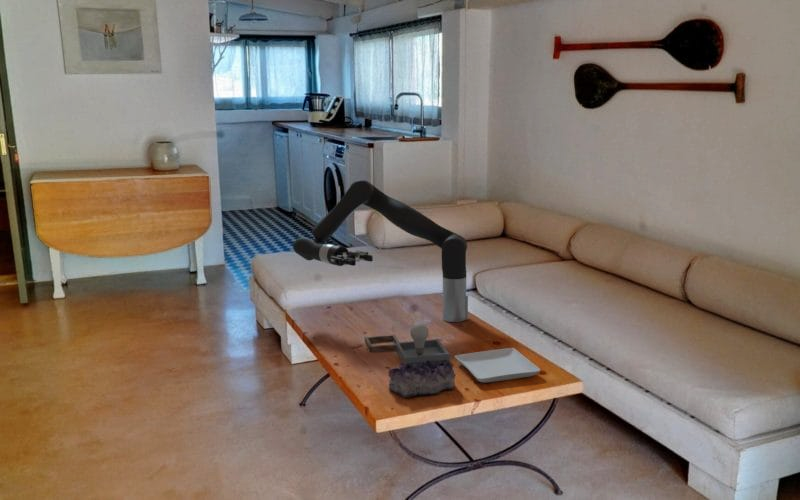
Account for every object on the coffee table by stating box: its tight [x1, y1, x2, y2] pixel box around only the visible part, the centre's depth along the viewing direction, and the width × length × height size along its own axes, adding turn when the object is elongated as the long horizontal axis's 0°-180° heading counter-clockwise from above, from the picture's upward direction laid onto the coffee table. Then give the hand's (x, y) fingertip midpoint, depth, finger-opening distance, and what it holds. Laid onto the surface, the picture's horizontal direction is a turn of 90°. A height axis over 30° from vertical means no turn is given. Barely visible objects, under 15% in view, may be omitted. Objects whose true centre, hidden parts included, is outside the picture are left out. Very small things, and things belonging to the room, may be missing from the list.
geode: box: [388, 360, 457, 398], centre depth 209 cm, size 20×12×10 cm, turn 110°
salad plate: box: [454, 347, 541, 383], centre depth 223 cm, size 21×21×3 cm
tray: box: [395, 338, 451, 366], centre depth 237 cm, size 15×15×3 cm
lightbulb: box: [409, 322, 430, 355], centre depth 235 cm, size 6×6×11 cm
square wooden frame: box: [364, 334, 400, 353], centre depth 248 cm, size 11×11×2 cm
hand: (363, 260), depth 255 cm, fingers open, 8 cm apart
